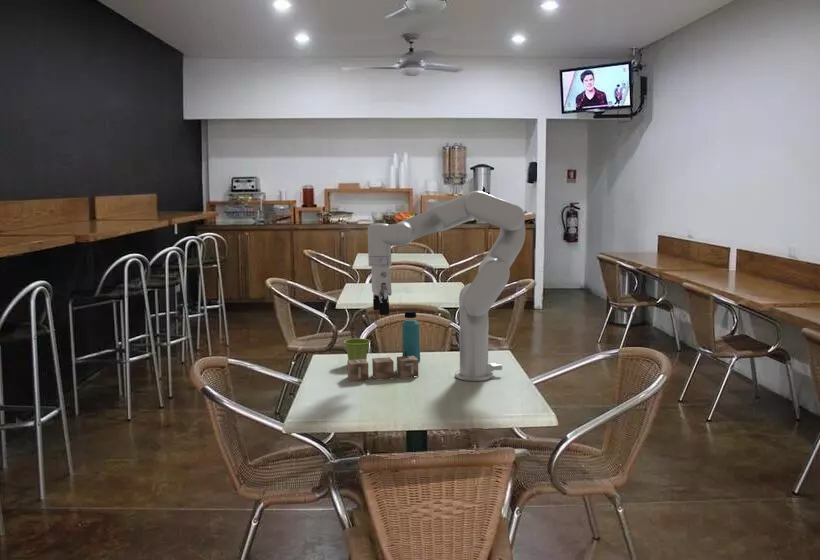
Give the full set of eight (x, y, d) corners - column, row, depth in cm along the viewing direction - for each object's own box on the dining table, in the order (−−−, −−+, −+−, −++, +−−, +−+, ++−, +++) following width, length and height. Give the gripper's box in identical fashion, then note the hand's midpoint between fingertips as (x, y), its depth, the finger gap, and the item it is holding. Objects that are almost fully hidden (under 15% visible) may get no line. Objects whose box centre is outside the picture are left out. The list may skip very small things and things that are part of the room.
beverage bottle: (423, 365, 255) (423, 310, 252) (414, 369, 249) (413, 313, 247) (408, 363, 258) (407, 308, 256) (398, 367, 253) (397, 311, 250)
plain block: (389, 374, 244) (389, 357, 243) (393, 378, 238) (393, 361, 237) (372, 375, 243) (372, 358, 242) (376, 380, 237) (375, 362, 236)
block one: (365, 376, 242) (365, 358, 241) (368, 380, 236) (368, 362, 235) (347, 377, 241) (347, 359, 240) (350, 382, 235) (350, 364, 234)
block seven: (413, 372, 246) (413, 355, 245) (418, 377, 240) (418, 359, 239) (397, 373, 245) (396, 356, 244) (401, 378, 239) (400, 360, 238)
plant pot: (358, 360, 264) (358, 337, 263) (375, 364, 257) (375, 340, 256) (339, 364, 257) (338, 341, 256) (356, 369, 251) (356, 345, 250)
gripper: (397, 263, 227) (398, 316, 230) (385, 258, 244) (386, 307, 246) (373, 264, 226) (375, 317, 228) (363, 259, 242) (365, 308, 244)
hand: (381, 312), depth 237 cm, fingers open, 9 cm apart
